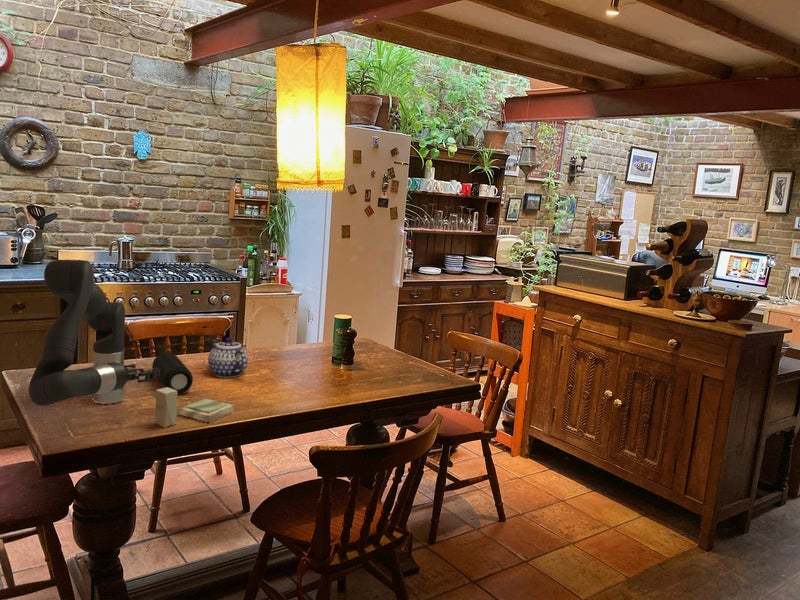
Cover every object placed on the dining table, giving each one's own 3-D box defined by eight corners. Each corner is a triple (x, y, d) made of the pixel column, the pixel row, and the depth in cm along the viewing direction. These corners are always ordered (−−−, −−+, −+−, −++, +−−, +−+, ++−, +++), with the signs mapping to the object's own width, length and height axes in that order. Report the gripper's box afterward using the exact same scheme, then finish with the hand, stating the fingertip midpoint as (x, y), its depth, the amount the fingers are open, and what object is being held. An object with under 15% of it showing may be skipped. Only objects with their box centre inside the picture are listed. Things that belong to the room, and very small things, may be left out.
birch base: (179, 415, 206) (179, 406, 205) (204, 405, 217) (204, 396, 216) (209, 423, 201) (209, 414, 201) (233, 412, 212) (233, 403, 212)
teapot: (260, 380, 248) (261, 343, 246) (223, 385, 239) (225, 347, 236) (230, 363, 267) (232, 329, 264) (196, 368, 257) (197, 332, 255)
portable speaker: (150, 377, 243) (151, 351, 241) (178, 375, 248) (178, 349, 246) (165, 398, 221) (165, 370, 219) (194, 395, 226) (195, 367, 225)
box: (154, 424, 197) (154, 389, 195) (166, 420, 201) (167, 386, 199) (165, 428, 194) (165, 393, 193) (177, 424, 198) (178, 390, 196)
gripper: (126, 367, 168) (167, 359, 183) (83, 360, 172) (127, 353, 188) (125, 395, 168) (166, 385, 184) (82, 388, 173) (125, 379, 188)
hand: (146, 369), depth 186 cm, fingers open, 8 cm apart
